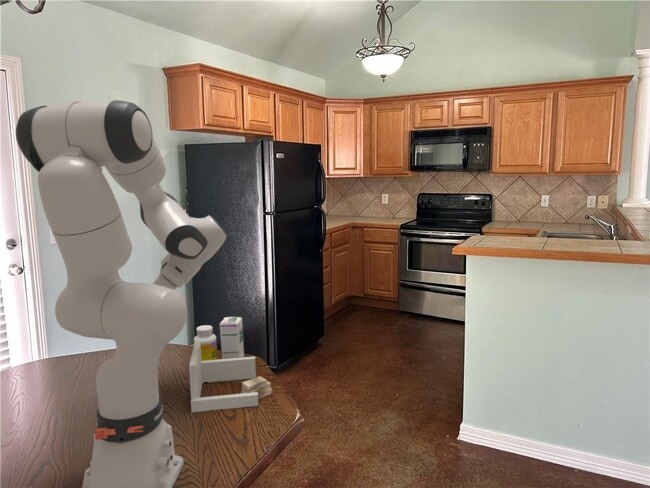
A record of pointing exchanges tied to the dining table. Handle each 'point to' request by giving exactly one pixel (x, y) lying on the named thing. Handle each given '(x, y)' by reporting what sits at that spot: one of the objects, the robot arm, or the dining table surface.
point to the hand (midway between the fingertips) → (142, 305)
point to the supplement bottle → (207, 342)
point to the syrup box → (232, 337)
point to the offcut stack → (257, 387)
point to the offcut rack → (220, 372)
